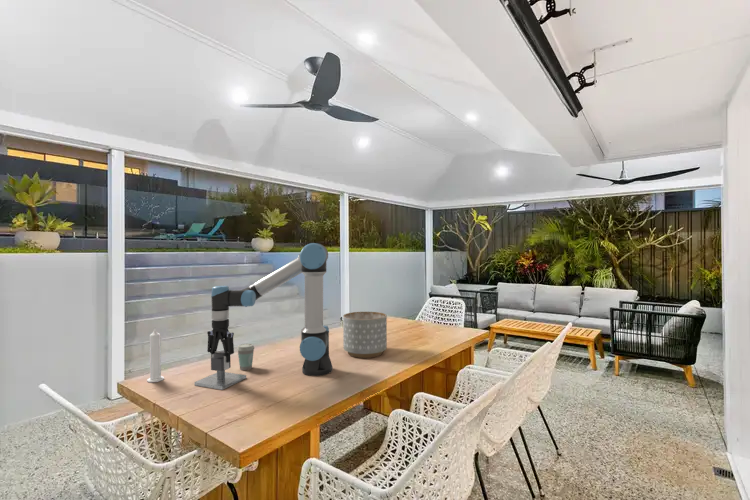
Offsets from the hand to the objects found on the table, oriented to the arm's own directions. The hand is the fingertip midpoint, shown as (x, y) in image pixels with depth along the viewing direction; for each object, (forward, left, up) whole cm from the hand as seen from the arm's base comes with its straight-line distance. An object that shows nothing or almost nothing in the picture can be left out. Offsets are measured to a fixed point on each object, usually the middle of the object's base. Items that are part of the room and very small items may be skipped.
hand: (220, 368), depth 183 cm
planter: (-45, -68, -7) cm, 82 cm away
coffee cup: (+2, -20, -7) cm, 21 cm away
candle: (+31, +9, -7) cm, 33 cm away
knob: (0, 0, 0) cm, 0 cm away
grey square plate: (0, 0, -6) cm, 6 cm away
